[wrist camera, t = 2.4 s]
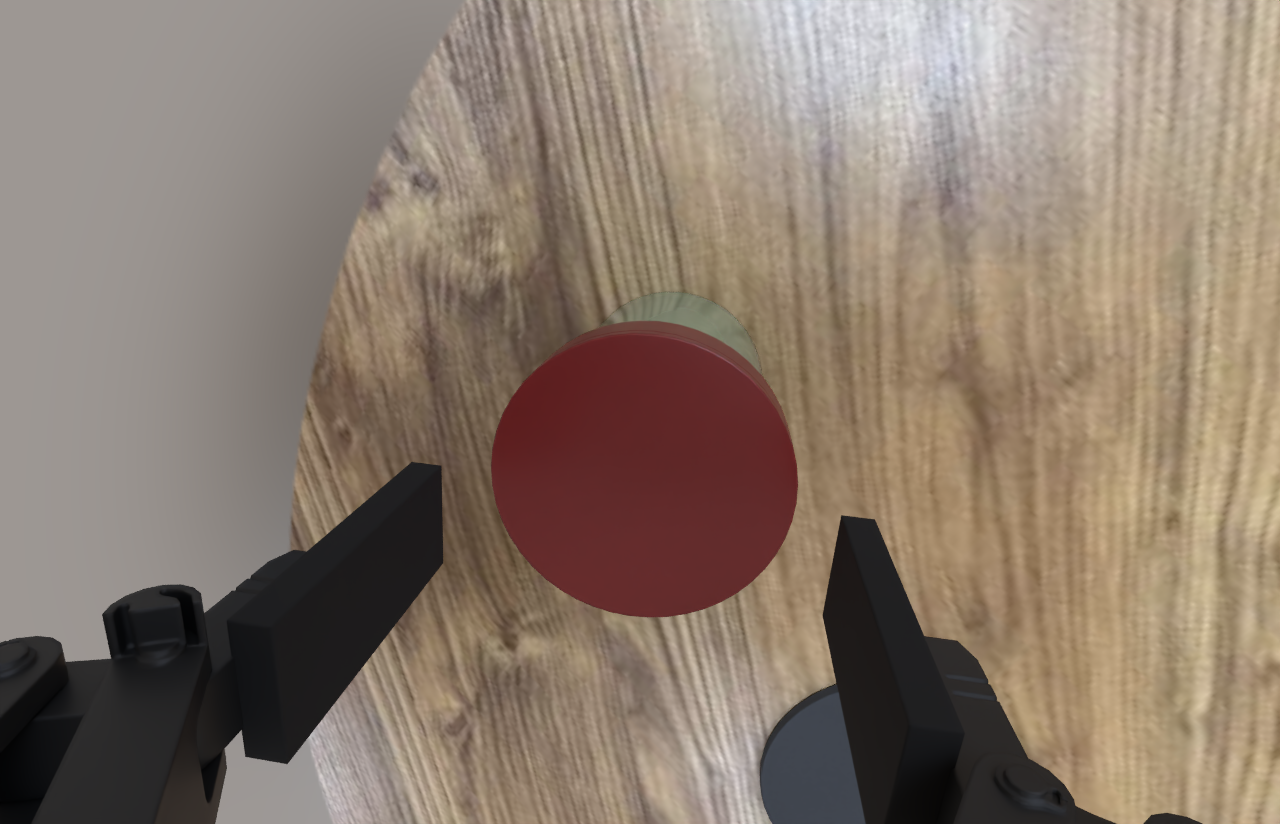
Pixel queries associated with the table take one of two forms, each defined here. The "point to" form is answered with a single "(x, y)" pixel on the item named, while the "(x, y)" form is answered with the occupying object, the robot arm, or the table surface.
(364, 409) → the table surface
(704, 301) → the jar
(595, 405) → the lid
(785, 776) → the coaster
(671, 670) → the table surface
